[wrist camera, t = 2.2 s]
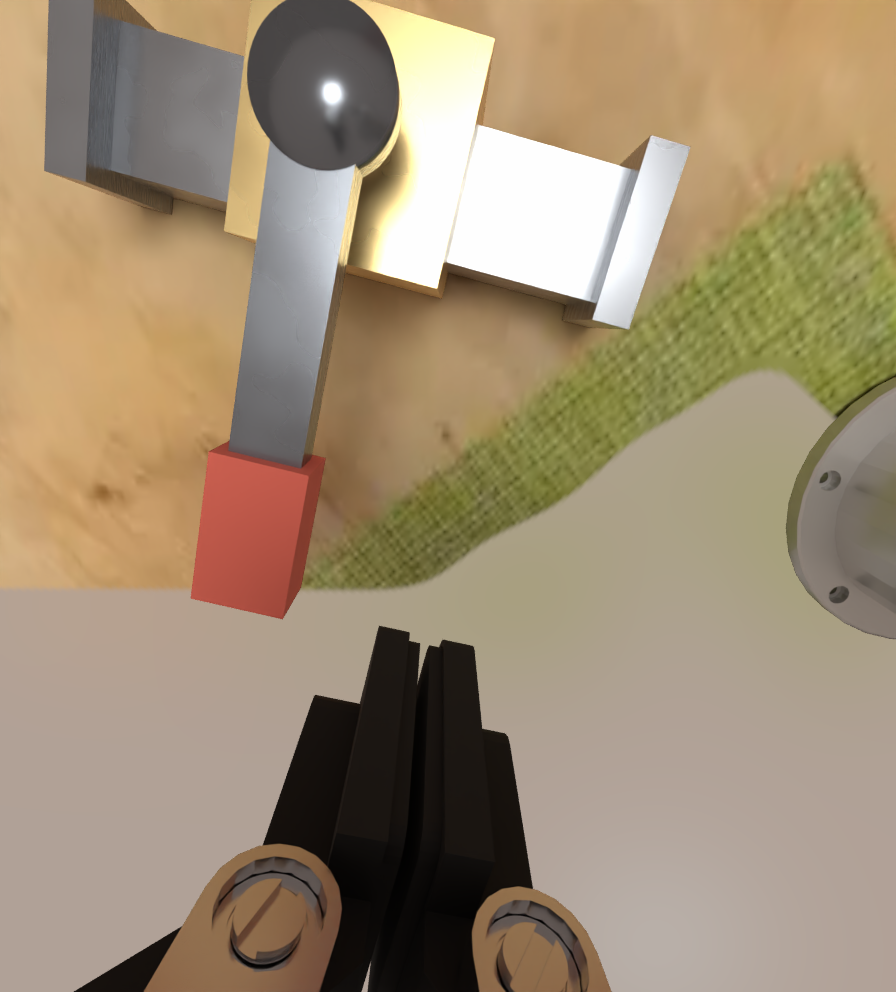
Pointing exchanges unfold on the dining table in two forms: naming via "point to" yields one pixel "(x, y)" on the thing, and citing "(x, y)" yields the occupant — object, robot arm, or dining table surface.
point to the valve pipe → (384, 192)
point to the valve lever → (293, 292)
